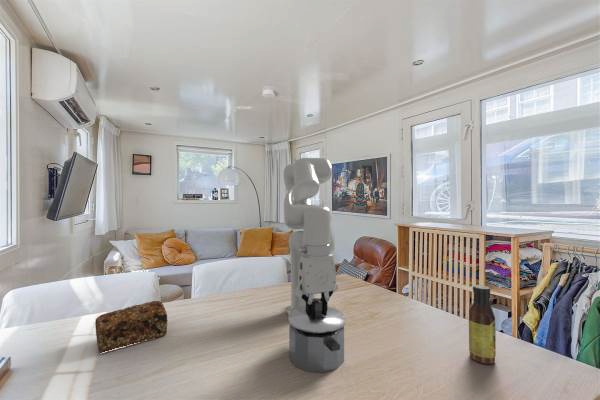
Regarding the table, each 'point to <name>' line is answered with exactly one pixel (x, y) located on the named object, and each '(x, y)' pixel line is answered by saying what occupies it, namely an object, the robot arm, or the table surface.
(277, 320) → the table surface
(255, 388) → the table surface
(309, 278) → the robot arm
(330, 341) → the pot
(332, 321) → the lid
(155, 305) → the bread
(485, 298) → the sauce bottle
